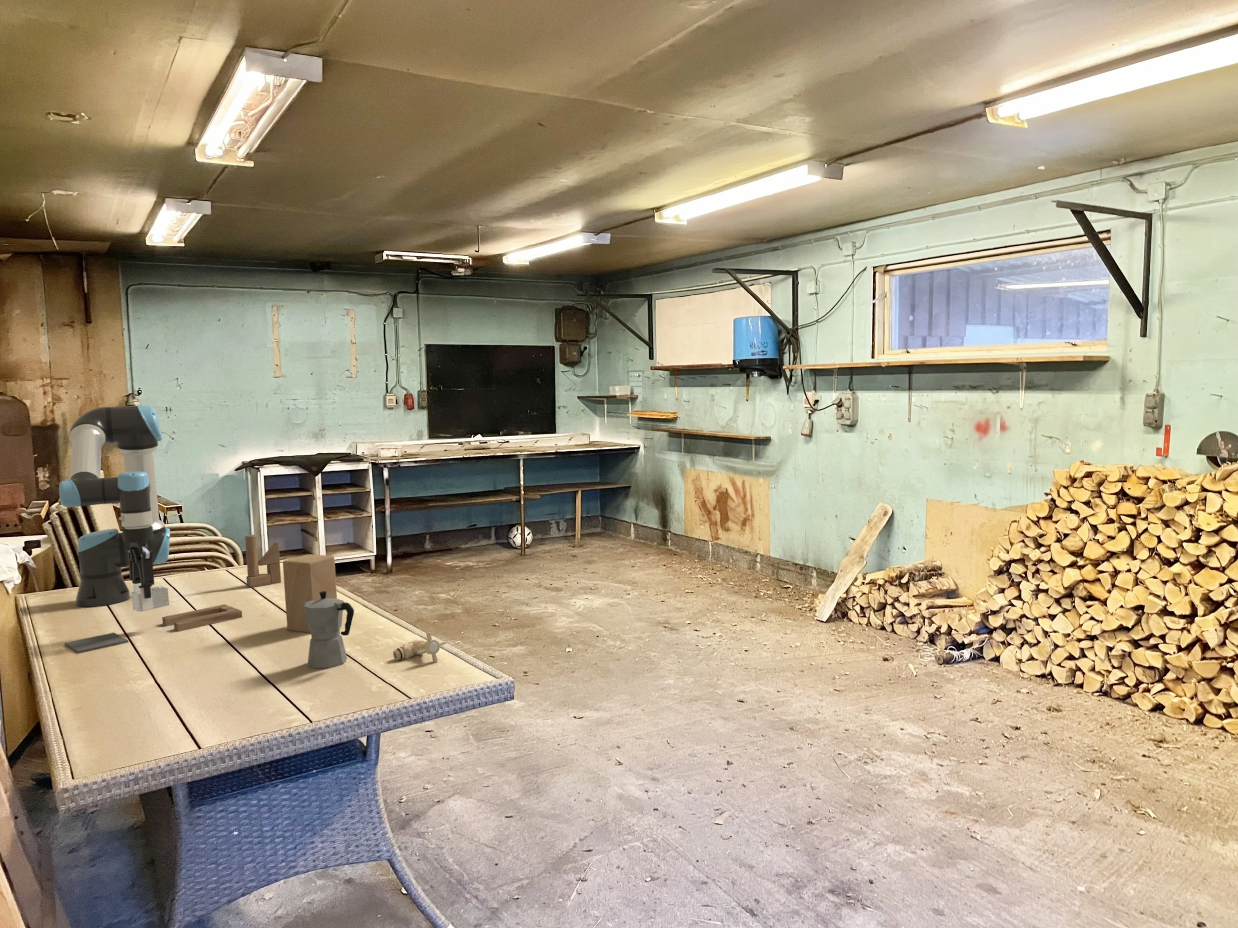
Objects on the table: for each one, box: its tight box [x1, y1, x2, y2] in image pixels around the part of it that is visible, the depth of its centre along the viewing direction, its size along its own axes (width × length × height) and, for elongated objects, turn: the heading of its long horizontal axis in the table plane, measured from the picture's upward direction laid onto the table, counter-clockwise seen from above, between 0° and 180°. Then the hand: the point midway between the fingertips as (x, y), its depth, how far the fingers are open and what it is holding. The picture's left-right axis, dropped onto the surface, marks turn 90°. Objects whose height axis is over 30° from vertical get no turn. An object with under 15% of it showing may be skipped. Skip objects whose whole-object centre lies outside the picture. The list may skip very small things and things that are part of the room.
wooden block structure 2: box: [244, 534, 282, 589], centre depth 296 cm, size 4×11×18 cm, turn 132°
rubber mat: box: [64, 632, 129, 654], centre depth 230 cm, size 12×12×1 cm
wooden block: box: [282, 553, 338, 634], centre depth 239 cm, size 10×10×20 cm
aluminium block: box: [130, 585, 170, 613], centre depth 240 cm, size 4×8×5 cm, turn 142°
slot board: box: [161, 604, 243, 632], centre depth 251 cm, size 13×18×2 cm
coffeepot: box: [302, 591, 355, 670], centre depth 207 cm, size 15×9×18 cm, turn 68°
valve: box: [392, 631, 447, 663], centre depth 209 cm, size 8×12×10 cm
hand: (144, 607), depth 239 cm, fingers closed on aluminium block, 5 cm apart
